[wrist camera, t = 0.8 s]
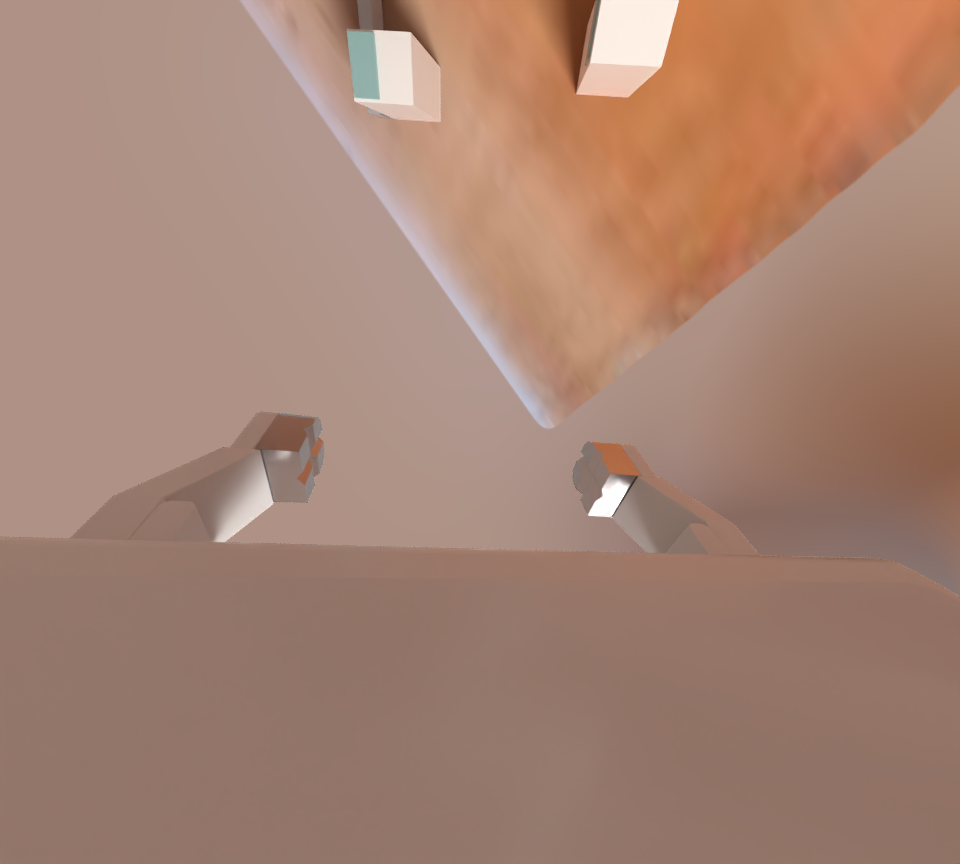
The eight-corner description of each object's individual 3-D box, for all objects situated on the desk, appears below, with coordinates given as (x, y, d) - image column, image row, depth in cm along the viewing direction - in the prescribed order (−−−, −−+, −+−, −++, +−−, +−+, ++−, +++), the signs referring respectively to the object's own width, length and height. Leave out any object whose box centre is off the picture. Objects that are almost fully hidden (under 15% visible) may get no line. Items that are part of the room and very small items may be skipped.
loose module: (585, 24, 31) (606, -39, 22) (644, 27, 30) (688, -36, 22) (574, 94, 33) (588, 62, 25) (627, 97, 33) (661, 67, 24)
